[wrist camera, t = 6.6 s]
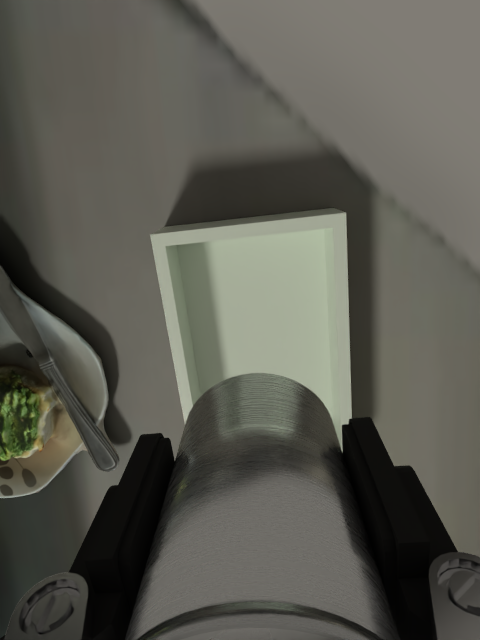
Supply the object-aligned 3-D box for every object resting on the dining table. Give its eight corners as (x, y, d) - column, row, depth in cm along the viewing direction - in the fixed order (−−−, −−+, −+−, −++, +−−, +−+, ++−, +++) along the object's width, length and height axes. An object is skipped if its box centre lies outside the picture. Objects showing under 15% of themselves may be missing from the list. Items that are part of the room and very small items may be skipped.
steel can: (334, 364, 12) (438, 618, 5) (338, 497, 13) (421, 822, 7) (171, 377, 12) (66, 630, 5) (194, 505, 13) (135, 822, 7)
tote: (333, 207, 25) (346, 212, 21) (342, 455, 31) (353, 490, 27) (164, 226, 25) (150, 234, 22) (205, 465, 31) (199, 500, 28)
